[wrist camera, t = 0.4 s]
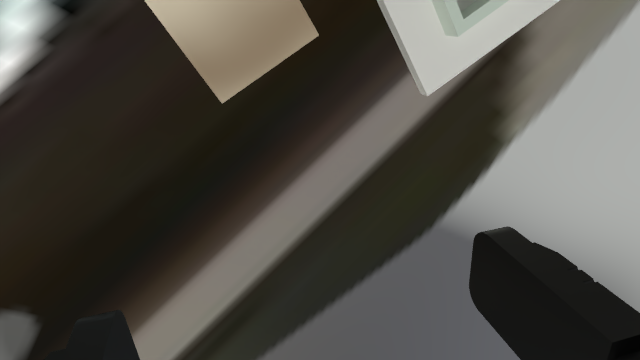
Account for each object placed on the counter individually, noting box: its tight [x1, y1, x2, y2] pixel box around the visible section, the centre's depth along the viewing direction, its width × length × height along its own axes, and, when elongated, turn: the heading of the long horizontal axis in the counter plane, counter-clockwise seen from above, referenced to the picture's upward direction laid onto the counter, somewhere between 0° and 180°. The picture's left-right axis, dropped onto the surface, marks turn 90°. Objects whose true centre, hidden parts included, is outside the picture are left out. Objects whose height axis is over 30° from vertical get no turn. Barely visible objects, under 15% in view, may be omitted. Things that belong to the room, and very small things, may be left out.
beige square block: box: [145, 0, 319, 103], centre depth 20 cm, size 5×5×12 cm
